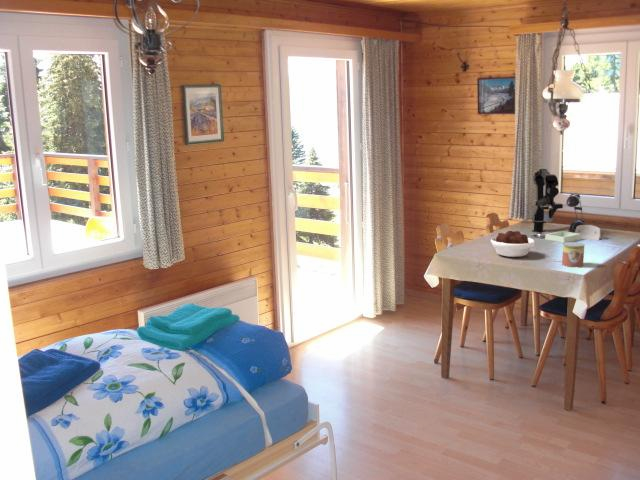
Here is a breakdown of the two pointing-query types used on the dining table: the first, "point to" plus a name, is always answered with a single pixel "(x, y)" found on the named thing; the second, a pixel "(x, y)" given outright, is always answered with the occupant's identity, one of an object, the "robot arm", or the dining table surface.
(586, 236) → the white arched block
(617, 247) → the dining table surface
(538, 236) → the stud
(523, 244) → the bowl of brown food
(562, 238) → the bin
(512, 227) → the dining table surface
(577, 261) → the canned food
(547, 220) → the strut
